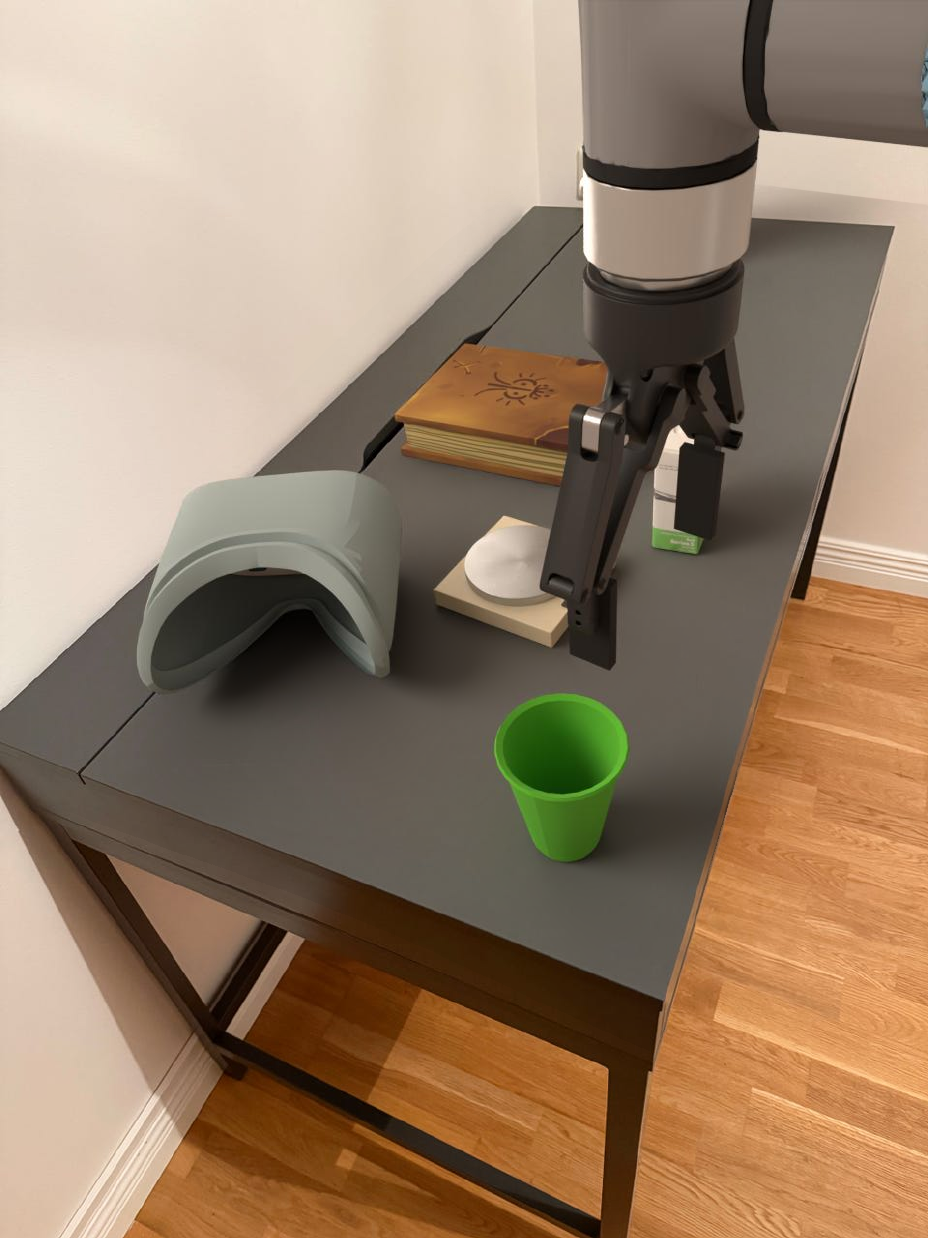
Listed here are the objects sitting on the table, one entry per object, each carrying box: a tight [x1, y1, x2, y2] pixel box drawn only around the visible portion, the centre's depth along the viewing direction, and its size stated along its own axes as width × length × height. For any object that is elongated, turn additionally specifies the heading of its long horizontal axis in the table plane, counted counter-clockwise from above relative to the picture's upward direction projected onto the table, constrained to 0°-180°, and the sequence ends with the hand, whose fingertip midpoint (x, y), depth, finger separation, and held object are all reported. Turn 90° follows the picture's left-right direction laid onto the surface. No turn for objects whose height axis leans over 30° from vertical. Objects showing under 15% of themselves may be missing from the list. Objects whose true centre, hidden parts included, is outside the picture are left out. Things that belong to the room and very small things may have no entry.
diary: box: [394, 343, 608, 487], centre depth 107 cm, size 23×19×6 cm
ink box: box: [651, 425, 724, 555], centre depth 88 cm, size 9×5×12 cm, turn 156°
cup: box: [493, 692, 630, 863], centre depth 64 cm, size 9×9×11 cm
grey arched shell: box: [136, 469, 403, 695], centre depth 82 cm, size 22×19×13 cm
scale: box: [433, 515, 617, 649], centre depth 88 cm, size 13×13×2 cm
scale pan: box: [464, 525, 556, 606], centre depth 87 cm, size 11×11×1 cm
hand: (646, 591), depth 57 cm, fingers open, 13 cm apart
